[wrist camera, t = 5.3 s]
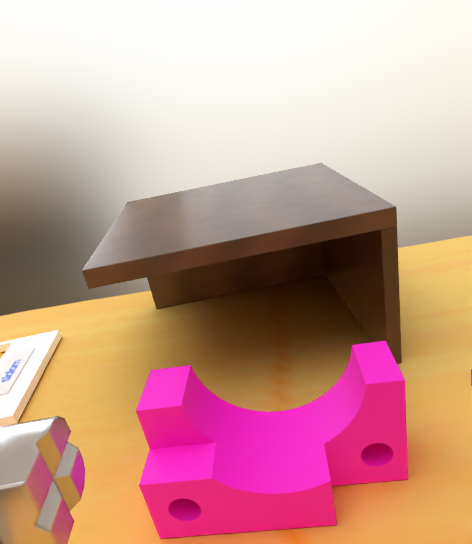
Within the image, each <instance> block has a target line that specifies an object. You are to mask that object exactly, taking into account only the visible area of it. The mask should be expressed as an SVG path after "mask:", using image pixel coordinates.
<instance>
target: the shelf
mask: <svg viewBox="0 0 472 544" xmlns="http://www.w3.org/2000/svg"><path fill="white" fill-rule="evenodd" d="M396 226H397V213H396V206H394V205H392V204H391V203H389V202H387V201H385V200H384V199H382V198H380V197H378V196H377V195H375V194H373V193H372V192H370V191H368V190H367V189H365V188H363V187H361V186H360V185H358V184H356V183H355V182H353V181H351V180H349V179H348V178H346V177H344V176H343V175H341V174H339V173H338V172H336V171H334V170H332V169H330V168H329V167H327V166H326V165H324V164H322V163H318V164H314V165H309V166H304V167H299V168H294V169H289V170H284V171H279V172H274V173H269V174H264V175H259V176H255V177H250V178H245V179H240V180H235V181H230V182H225V183H220V184H215V185H210V186H205V187H201V188H196V189H191V190H186V191H181V192H176V193H171V194H166V195H161V196H156V197H151V198H146V199H141V200H137V201H132V202H127V204H126V205H125V207H124V208H123V210H122V211H121V213H120V214H119V216H118V217H117V219H116V220H115V222H114V224H113V225H112V226H111V228H110V229H109V231H108V232H107V234H106V235H105V237H104V238H103V240H102V241H101V243H100V244H99V246H98V247H97V249H96V250H95V252H94V253H93V255H92V256H91V258H90V259H89V261H88V262H87V264H86V266H85V267H84V268H83V270H82V273H83V275H84V278H85V281H86V283H87V286H88V288H89V289H91V288H96V287H101V286H105V285H110V284H115V283H120V282H125V281H130V280H135V279H140V278H145V277H147V279H148V282H149V285H150V289H151V292H152V295H153V299H154V302H155V305H156V309H159V308H164V307H169V306H174V305H179V304H184V303H188V302H193V301H198V300H203V299H208V298H213V297H218V296H223V295H228V294H233V293H238V292H243V291H248V290H253V289H258V288H263V287H267V286H272V285H277V284H282V283H287V282H292V281H297V280H302V279H307V278H312V277H317V276H322V275H327V277H328V278H329V280H330V281H331V283H332V284H333V286H334V287H335V289H336V290H337V292H338V293H339V294H340V296H341V297H342V299H343V300H344V302H345V303H346V305H347V306H348V308H349V309H350V310H351V312H352V313H353V315H354V316H355V318H356V319H357V321H358V322H359V324H360V325H361V326H362V328H363V329H364V331H365V332H366V334H367V335H368V337H369V338H370V340H371V341H372V342H379V341H386V343H387V345H388V347H389V349H390V351H391V353H392V355H393V357H394V359H395V361H396V363H400V362H402V360H401V331H400V301H399V272H398V245H397V227H396Z"/></svg>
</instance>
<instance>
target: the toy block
mask: <svg viewBox="0 0 472 544" xmlns="http://www.w3.org/2000/svg"><path fill="white" fill-rule="evenodd" d="M136 412H137V415H138V418H139V420H140V423H141V426H142V429H143V432H144V434H145V437H146V440H147V443H148V445H149V448H150V450H149V454H148V457H147V461H146V464H145V467H144V471H143V474H142V478H141V481H140V484H139V486H140V489H141V491H142V494H143V496H144V499H145V501H146V504H147V506H148V509H149V512H150V514H151V517H152V519H153V522H154V524H155V527H156V529H157V532H158V535H159V537H160V539H161V538H174V537H187V536H200V535H213V534H226V533H239V532H252V531H265V530H278V529H291V528H304V527H317V526H330V525H337V523H336V516H335V508H334V501H333V493H332V486H338V485H350V484H361V483H372V482H384V481H395V480H407V479H408V467H407V434H406V402H405V379H404V377H403V375H402V373H401V371H400V369H399V367H398V365H397V363H396V361H395V359H394V357H393V355H392V353H391V351H390V349H389V347H388V345H387V343H386V341H379V342H371V343H363V344H355V345H352V350H351V355H350V360H349V362H348V365H347V367H346V369H345V371H344V373H343V375H342V376H341V378H340V379H339V380H338V382H337V383H336V384H335V385H334V386H333V387H332V388H331V389H330V390H329V391H328V392H326V393H325V394H324V395H323V396H321V397H320V398H318V399H316V400H315V401H313V402H311V403H309V404H306V405H304V406H301V407H298V408H294V409H290V410H285V411H277V412H261V411H253V410H248V409H244V408H240V407H237V406H234V405H232V404H230V403H227V402H226V401H224V400H222V399H220V398H219V397H217V396H216V395H214V394H213V393H212V392H211V391H209V390H208V389H207V388H206V387H205V386H204V385H203V384H202V383H201V381H200V380H199V379H198V377H197V376H196V374H195V373H194V371H193V369H192V367H191V365H188V366H181V367H173V368H165V369H157V370H151V372H150V374H149V377H148V380H147V383H146V385H145V388H144V391H143V393H142V396H141V399H140V402H139V404H138V407H137V410H136Z"/></svg>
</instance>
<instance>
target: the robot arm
mask: <svg viewBox="0 0 472 544" xmlns="http://www.w3.org/2000/svg"><path fill="white" fill-rule="evenodd" d="M471 385H472V370H471ZM70 432H71V430H70V428H69V426H68V424H67V423H66V421H65V419H64V418H62V417H59V416H55V417H50V418H44V419H39V420H33V421H27V422H22V423H16V424H10V425H8V426H0V544H67V543H68V540H69V536H70V533H71V530H72V527H73V523H74V520H73V518H72V516H71V514H70V512H69V511H70V510H71V509H72V508H73V507H74V506H75V505H76V504H77V503H78V502H79V500H80V499H81V496H82V492H83V489H84V482H85V467H84V462H83V458H82V455H81V453H80V451H79V448H77V447H76V446H74V445H72V444H71V443H69V442H67V440H68V438H69V435H70Z"/></svg>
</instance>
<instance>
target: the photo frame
mask: <svg viewBox="0 0 472 544" xmlns="http://www.w3.org/2000/svg"><path fill="white" fill-rule="evenodd" d="M61 337H62V335H61V333H60V330H56V331H51V332H46V333H42V334H37V335H33V336H28V337H23V338H19V339H14V340H9V341H5V342H0V352H3V351H6V352H5V354H4V355H3V357H2V358H1V359H0V426H8V425H10V424H16V423H17V422H18V420H19V418H20V416H21V414H22V413H23V411H24V409H25V407H26V405H27V403H28V401H29V399H30V397H31V395H32V393H33V391H34V389H35V387H36V385H37V384H38V382H39V380H40V378H41V376H42V374H43V372H44V370H45V368H46V366H47V364H48V362H49V360H50V358H51V356H52V355H53V353H54V351H55V349H56V347H57V345H58V343H59V341H60V339H61Z"/></svg>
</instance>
